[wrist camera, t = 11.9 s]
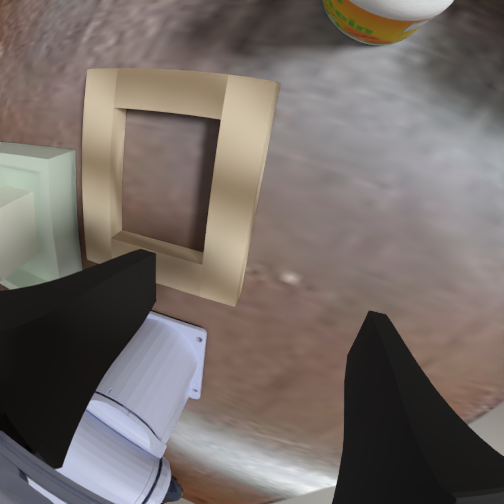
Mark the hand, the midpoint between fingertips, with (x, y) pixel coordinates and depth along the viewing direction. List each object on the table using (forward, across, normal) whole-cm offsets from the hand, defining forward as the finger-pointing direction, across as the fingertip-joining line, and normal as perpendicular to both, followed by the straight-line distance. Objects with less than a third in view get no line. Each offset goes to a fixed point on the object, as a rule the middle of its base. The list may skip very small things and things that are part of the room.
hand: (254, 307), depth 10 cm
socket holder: (+10, +8, 0) cm, 13 cm away
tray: (+10, +23, +6) cm, 26 cm away
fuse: (+9, +23, +6) cm, 26 cm away
